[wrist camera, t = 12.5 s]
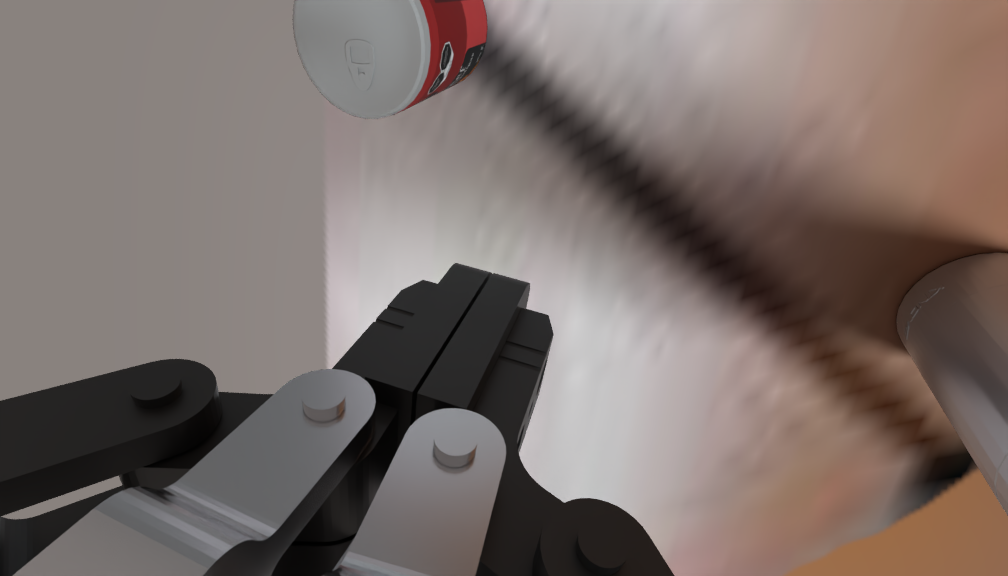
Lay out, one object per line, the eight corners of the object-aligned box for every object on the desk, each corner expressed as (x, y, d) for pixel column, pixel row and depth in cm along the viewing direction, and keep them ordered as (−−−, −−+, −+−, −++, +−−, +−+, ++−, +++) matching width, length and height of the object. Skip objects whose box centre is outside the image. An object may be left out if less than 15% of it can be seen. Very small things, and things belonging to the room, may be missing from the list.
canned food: (407, 95, 39) (325, 131, 30) (371, -27, 36) (265, -27, 26) (503, 73, 36) (445, 106, 27) (474, -61, 33) (396, -74, 24)
